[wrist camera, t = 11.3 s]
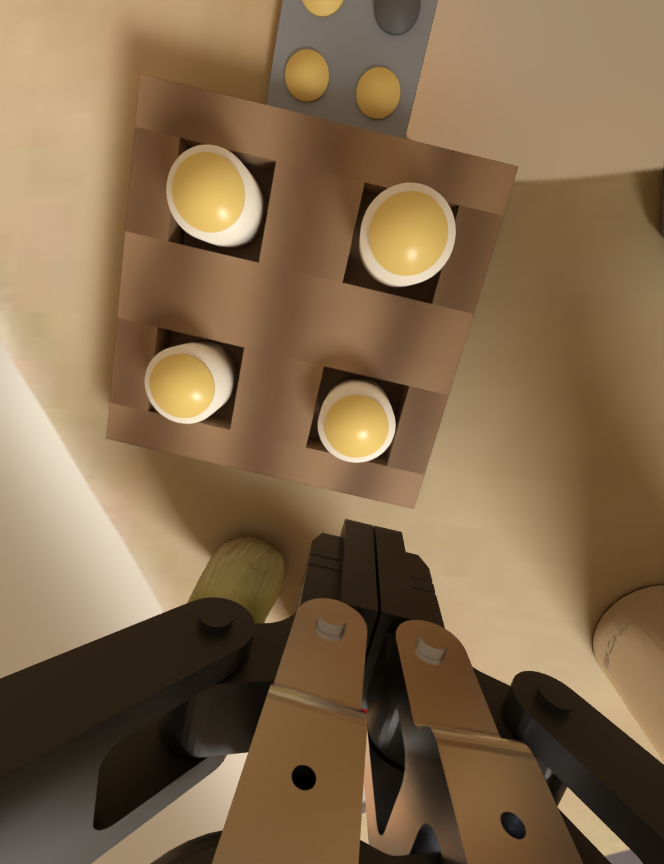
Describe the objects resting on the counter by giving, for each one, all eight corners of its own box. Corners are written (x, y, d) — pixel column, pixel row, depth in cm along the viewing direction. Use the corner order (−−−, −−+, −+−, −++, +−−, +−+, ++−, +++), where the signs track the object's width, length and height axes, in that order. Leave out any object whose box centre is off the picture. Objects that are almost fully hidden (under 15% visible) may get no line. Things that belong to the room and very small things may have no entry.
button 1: (273, 176, 26) (258, 154, 22) (260, 257, 28) (243, 249, 24) (198, 158, 26) (169, 132, 22) (188, 239, 28) (159, 229, 23)
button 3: (244, 349, 29) (226, 357, 25) (233, 414, 30) (214, 432, 26) (176, 333, 29) (146, 338, 25) (167, 399, 30) (138, 415, 26)
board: (500, 180, 27) (518, 166, 24) (408, 490, 32) (414, 509, 30) (163, 98, 26) (139, 74, 24) (128, 426, 32) (106, 438, 29)
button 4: (397, 384, 29) (405, 398, 25) (380, 448, 31) (384, 471, 27) (330, 369, 29) (326, 380, 25) (315, 433, 31) (309, 454, 26)
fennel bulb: (206, 575, 35) (135, 710, 24) (216, 518, 34) (145, 632, 22) (281, 592, 35) (246, 734, 24) (294, 536, 34) (263, 658, 22)
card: (442, -21, 24) (445, -32, 24) (402, 146, 27) (404, 142, 26) (294, -58, 24) (293, -70, 23) (267, 113, 26) (264, 108, 26)
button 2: (450, 211, 25) (469, 193, 21) (427, 295, 26) (441, 294, 22) (370, 192, 25) (373, 170, 20) (350, 277, 26) (350, 272, 22)
